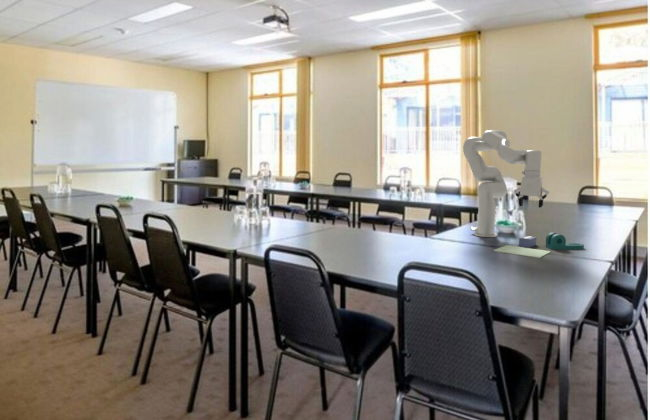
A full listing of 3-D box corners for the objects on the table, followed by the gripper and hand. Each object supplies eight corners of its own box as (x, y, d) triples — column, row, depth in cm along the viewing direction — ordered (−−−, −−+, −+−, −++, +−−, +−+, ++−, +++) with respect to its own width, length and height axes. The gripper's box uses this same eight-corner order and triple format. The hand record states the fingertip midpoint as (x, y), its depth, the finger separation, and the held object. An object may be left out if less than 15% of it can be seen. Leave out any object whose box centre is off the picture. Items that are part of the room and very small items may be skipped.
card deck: (518, 246, 248) (519, 237, 247) (525, 244, 254) (526, 235, 253) (529, 247, 244) (529, 239, 243) (536, 245, 250) (536, 236, 250)
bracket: (552, 249, 240) (553, 234, 239) (545, 247, 246) (546, 232, 245) (586, 249, 240) (587, 234, 239) (578, 247, 247) (580, 232, 246)
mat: (493, 251, 234) (493, 250, 234) (506, 245, 247) (506, 245, 247) (539, 258, 220) (539, 257, 219) (550, 252, 233) (550, 251, 233)
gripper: (512, 173, 247) (511, 206, 249) (547, 174, 236) (545, 208, 238) (517, 173, 253) (516, 204, 255) (552, 174, 242) (550, 207, 244)
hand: (530, 206), depth 246 cm, fingers open, 9 cm apart
